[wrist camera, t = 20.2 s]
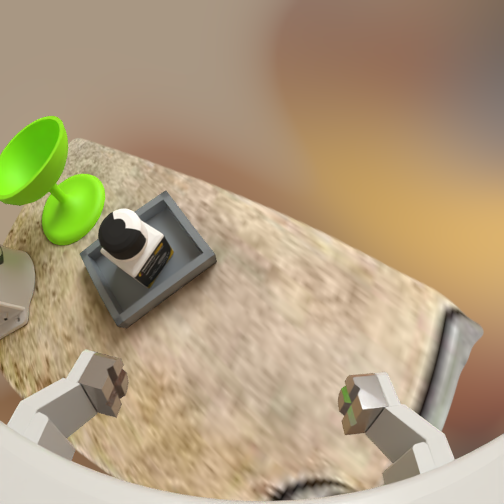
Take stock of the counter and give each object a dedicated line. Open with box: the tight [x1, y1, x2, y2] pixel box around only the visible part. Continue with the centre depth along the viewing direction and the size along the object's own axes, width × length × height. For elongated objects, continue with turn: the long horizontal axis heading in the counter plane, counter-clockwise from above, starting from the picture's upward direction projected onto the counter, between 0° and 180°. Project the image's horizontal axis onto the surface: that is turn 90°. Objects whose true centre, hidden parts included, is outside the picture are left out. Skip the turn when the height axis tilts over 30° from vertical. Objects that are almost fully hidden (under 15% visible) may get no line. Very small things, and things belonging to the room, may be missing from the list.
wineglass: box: [0, 116, 105, 245], centre depth 37 cm, size 16×16×18 cm
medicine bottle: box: [98, 209, 174, 288], centre depth 36 cm, size 7×7×12 cm
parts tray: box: [80, 191, 217, 328], centre depth 41 cm, size 18×14×4 cm
